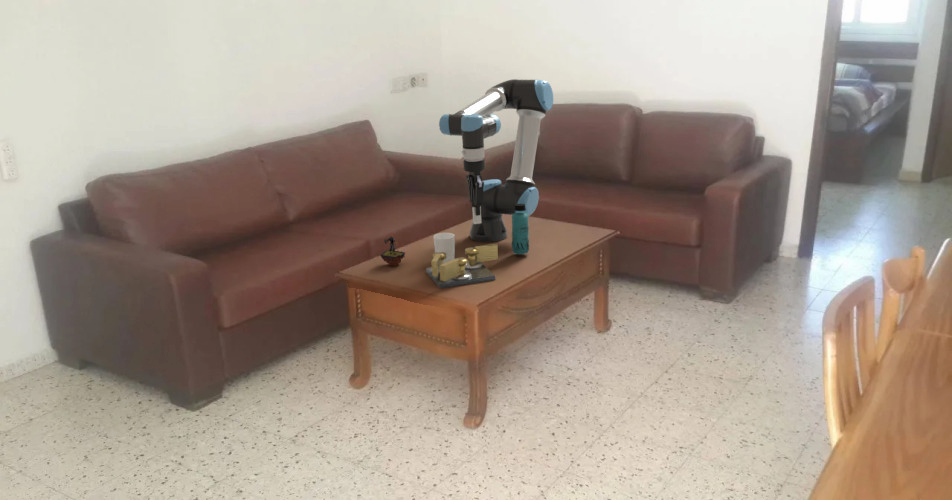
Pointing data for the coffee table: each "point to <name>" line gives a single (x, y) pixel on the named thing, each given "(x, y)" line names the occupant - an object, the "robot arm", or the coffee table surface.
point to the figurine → (392, 253)
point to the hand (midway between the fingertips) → (477, 223)
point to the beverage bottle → (520, 230)
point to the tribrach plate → (465, 276)
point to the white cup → (445, 245)
